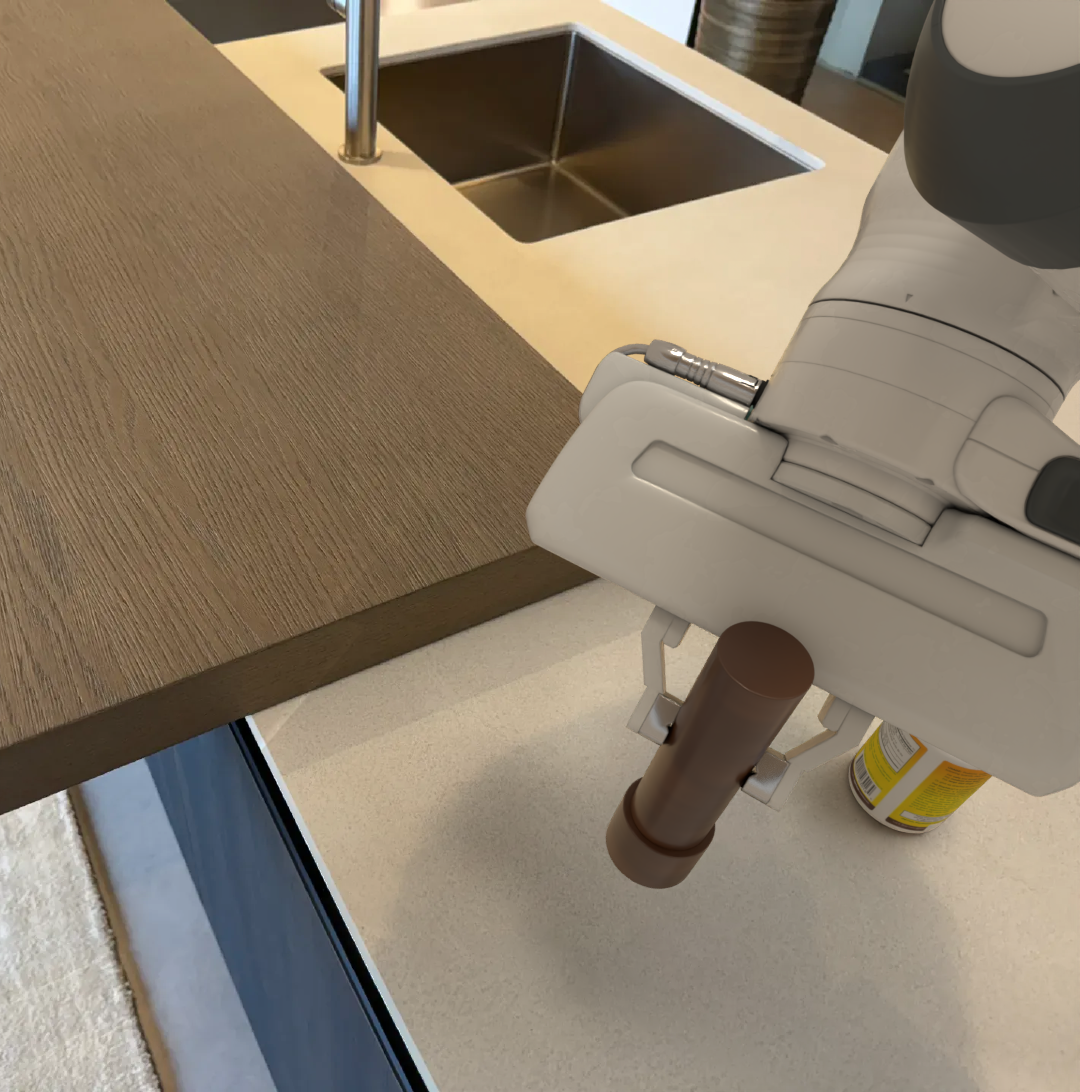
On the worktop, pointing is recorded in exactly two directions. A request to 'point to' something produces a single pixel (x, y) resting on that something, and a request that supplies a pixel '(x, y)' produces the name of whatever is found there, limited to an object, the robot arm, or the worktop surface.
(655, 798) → the brown flanged cylinder
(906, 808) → the supplement bottle
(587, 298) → the worktop surface
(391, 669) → the worktop surface
